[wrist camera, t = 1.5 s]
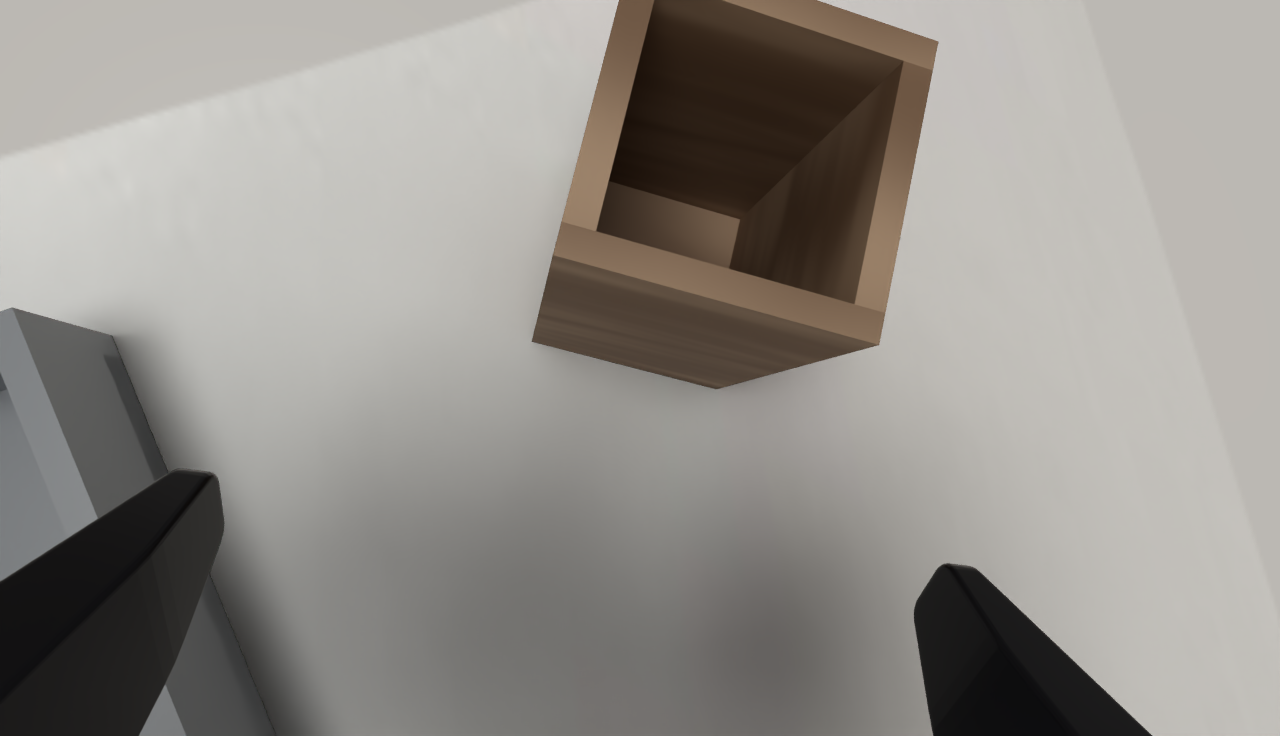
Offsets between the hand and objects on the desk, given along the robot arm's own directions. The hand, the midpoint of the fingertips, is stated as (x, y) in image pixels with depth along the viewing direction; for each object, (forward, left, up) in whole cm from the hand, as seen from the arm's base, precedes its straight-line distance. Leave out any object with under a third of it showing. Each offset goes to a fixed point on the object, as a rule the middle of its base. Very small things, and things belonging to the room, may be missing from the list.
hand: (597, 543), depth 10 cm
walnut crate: (+5, -6, -14) cm, 16 cm away
